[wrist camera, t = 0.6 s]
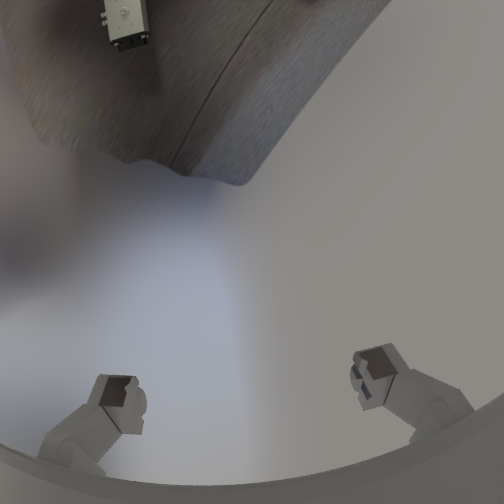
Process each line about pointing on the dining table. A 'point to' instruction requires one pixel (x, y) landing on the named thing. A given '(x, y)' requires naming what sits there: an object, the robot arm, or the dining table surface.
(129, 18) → the pneumatic valve
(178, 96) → the dining table surface
